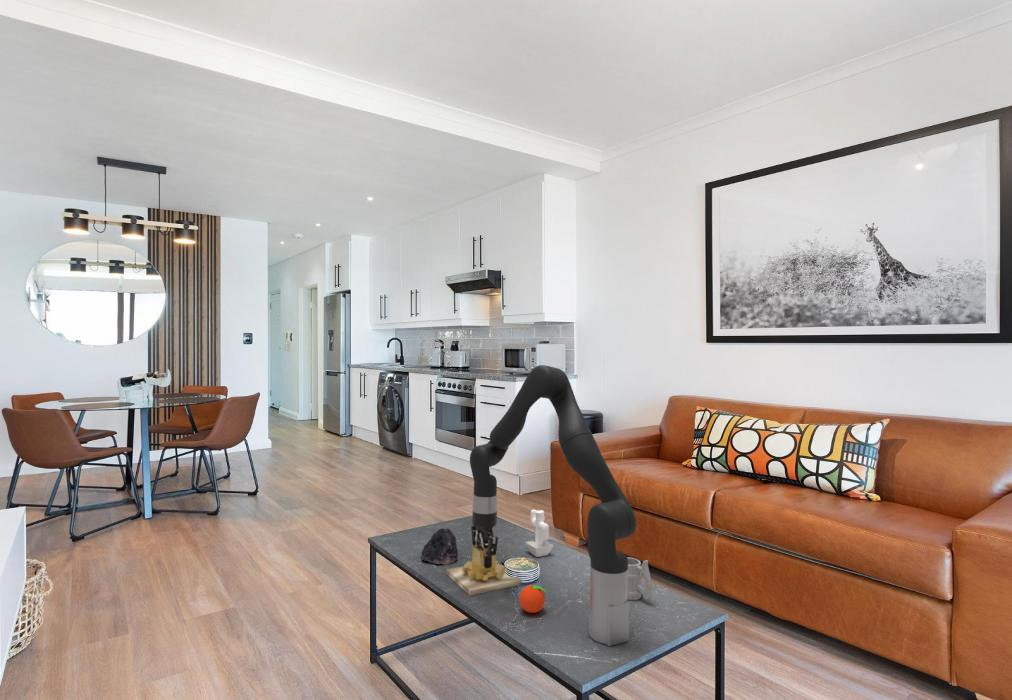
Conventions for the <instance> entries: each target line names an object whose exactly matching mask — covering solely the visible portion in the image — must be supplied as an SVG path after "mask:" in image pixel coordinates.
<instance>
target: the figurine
mask: <svg viewBox="0 0 1012 700" xmlns="http://www.w3.org/2000/svg"><path fill="white" fill-rule="evenodd" d="M545 519H546V517H545V511H544V510H543V509H540V510H537V509H531V510H530V524H531V526H533V527H534V528H535V531H534V532H535V535H534V537H535V538H534V539H535V540H528V541H524V544H525V545H526V547H527V549H528V551H529V553H530V554H531V555H533V556H535V557H536V558H539V557H545V556H548V555H549V554H550V552H551V551H552V549H553V547H554V544H552V543H551V542H548V540H549V539H550V526H549V524H548V523H546V522H545Z"/></svg>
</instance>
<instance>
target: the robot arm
mask: <svg viewBox="0 0 1012 700" xmlns="http://www.w3.org/2000/svg"><path fill="white" fill-rule="evenodd" d="M573 390H574V389H573V388H572V384H571V382H570V379H569V377H568V375H567V374H566V373H565V372H564V370H562V369H561V368H557V367H555V366H549V365H544V364H541V365H540V364H539V365H536V366H535V367H533V369H531V371H529V373H528V375H527V377H526V378H525V380H524V381H523V383H522V385H521V387H520V389H519V390H518V392H517V394H516V395H515V398H514V400H513V401H512V402H511V405H510V406H509V408H508V410H507V411H506V412H505V414H504V415H503V416H502V418H501V419H499V421H498V422H497V424H496V425H495V426H494V427H493V429H492V430H491V431H490V432H489V441H487V443H484V444H479V445H476V446H475V447H474V448H472V450H471V452H470V455H469V464H470V465H469V466H470V469H471V474H472V478H473V499H472V517H471V518H472V525H471V542H472V546H474V545H480V544H482V548H483V549H484V555H485V558H484V567H485V568H491V567H492V556H493V555H496V556H497V549H498V542H499V537H498V536H494V530H493V528H494V527H495V526H497V522H498V497H497V496H498V495H497V493H498V492H497V491H498V489H497V486H498V484H497V483H498V481H497V478H496V476H495V475H493V474H491V472H490V467H494V466H497V465H498V464H499V463H500V462H501V461H502V460H503V459H504V457H505V455H506V453H507V451H508V450H509V446H510V445H511V444H512V443H513V442H514V441H516V438H517V437H518V436H519V435H520V434H521V432H522V431H523V429H524V428H525V424H526V420H527V417H528V412H529V410H531V407H532V406H533V405H534V404H536V402H537V401H538V400H539V399H541V398H542V399H547V400H549V401H550V404H552V407H553V408H554V410H555V413H556V416H557V419H558V435H557V437H558V443H559V447H560V448H561V450H562V453H563V455H564V457H565V460H566V462H567V464H568V465H569V466H570V468H571V469H572V470H573V471H574V472H575V473H576V474H577V475H578V476H579V477H580V478H581V479H583V480H584V481H585V482H586V483H587V484H588V485H589V486H590V487H591V488H592V489H593V490H594V492H595V493H596V495H597V496H598V498H599V500H600V502H601V503H598V504H597V503H596V504H594V505H593V506H592V507H590V509H589V511H588V515H587V522H586V523H587V526H586V527H587V528H586V529H587V534H586V535H587V553H588V556H589V559H590V570H589V571H590V573H589V574H590V575H589V609H588V611H589V612H588V635H589V637H590V638H591V639H592V640H593V641H596V642H597V643H600V644H605V645H606V646H609V647H611V646H614V645H615V646H616V645H618V644H623V643H625V642H629V638H630V611H631V610H630V607H631V606H630V604H631V603H630V602H629V600H627V581H628V558H627V555H626V554H624V553H623V552H621V551H619V550H617V544H616V541H617V540H621V539H626V538H628V537H630V536H632V535H633V534H634V533H635V532H636V530H637V529H636V528H637V520H636V515H635V511H634V510H633V508H632V506H631V504H630V502H629V501H628V499H627V497H626V496H625V494H624V493H623V491H622V489H621V488H620V486H619V484H618V483H617V481H616V479H615V477H614V476H613V473H612V472H611V469H610V468H609V466H608V464H607V463H606V461H605V460H606V459H604V456H603V455H602V453H601V450H600V448H599V445H598V443H597V441H596V439H595V437H594V435H593V432H592V430H591V429H590V428H589V426H588V423H587V420H586V419H585V417H584V415H583V413H582V410H581V409H580V407H579V404H578V402H577V399H576V396H575V393H574V391H573ZM485 544H488V545H485ZM487 548H488V550H487Z"/></svg>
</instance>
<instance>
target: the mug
mask: <svg viewBox="0 0 1012 700" xmlns="http://www.w3.org/2000/svg"><path fill="white" fill-rule="evenodd" d="M627 558H628V581H627V601H636V600H639V599H641V597H642V596H643V597H642V598H644V600H648V599H649V598H650V596H651V595H652V588H653V582H652V578H651V573H650V569H649V564H648V563H649V560H647V559H646V560H643V562H642V563H641V561H640V560H639V559H637V558H634V557H627ZM642 576H643V579H644V580H645V583H644V586H643V585H642Z"/></svg>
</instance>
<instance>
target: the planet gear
mask: <svg viewBox="0 0 1012 700" xmlns="http://www.w3.org/2000/svg"><path fill="white" fill-rule="evenodd" d="M485 545H488V544H485ZM471 548H472V549H471V553H472V554H471V560H468V561H466V563H464V564H463V565H462V566H461V567H462V572H463V573H467V572H468V577H469V578H470V579H471V578H475V579H482V580H488V577H493V576H495V577H496V578H498V577H502V575H503V572H505V569H506V566H505V565H502V564H501V566H498V563H499V561H498V560H497V554H496V555H493V556H492V567H491V568H485V567H484V558H485V555H484V549H483V548H482V544H480V545H472V547H471ZM487 550H488V548H487Z"/></svg>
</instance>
